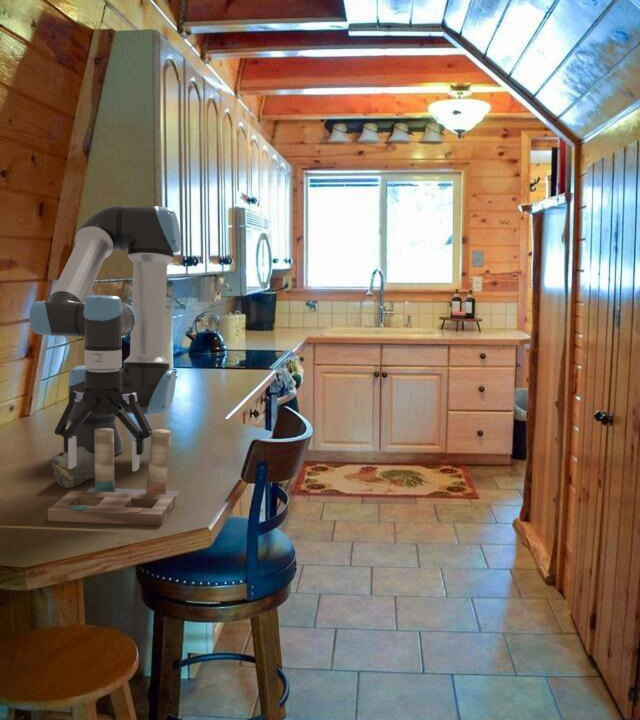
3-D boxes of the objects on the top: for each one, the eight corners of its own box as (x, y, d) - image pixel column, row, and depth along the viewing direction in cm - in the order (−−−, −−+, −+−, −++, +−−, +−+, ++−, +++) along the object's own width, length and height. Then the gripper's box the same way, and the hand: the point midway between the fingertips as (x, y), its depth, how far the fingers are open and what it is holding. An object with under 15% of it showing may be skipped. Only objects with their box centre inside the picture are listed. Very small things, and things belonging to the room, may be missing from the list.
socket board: (70, 502, 154) (70, 489, 154) (175, 506, 154) (175, 493, 153) (47, 522, 143) (47, 508, 142) (161, 526, 142) (161, 513, 142)
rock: (92, 472, 161) (47, 459, 160) (85, 500, 162) (40, 488, 161) (112, 449, 178) (71, 438, 177) (105, 475, 179) (64, 464, 178)
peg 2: (148, 491, 161) (154, 428, 159) (167, 493, 161) (173, 430, 159) (143, 497, 157) (149, 432, 155) (162, 499, 157) (168, 435, 155)
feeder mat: (90, 489, 163) (90, 487, 163) (180, 492, 163) (180, 491, 163) (77, 501, 155) (77, 499, 155) (172, 504, 155) (172, 502, 155)
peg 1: (98, 490, 161) (97, 427, 159) (117, 491, 161) (116, 428, 159) (92, 496, 157) (91, 432, 155) (111, 497, 157) (110, 432, 155)
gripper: (37, 370, 152) (39, 470, 155) (157, 373, 151) (157, 475, 154) (51, 365, 160) (53, 461, 162) (166, 369, 159) (166, 465, 161)
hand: (104, 468), depth 158 cm, fingers open, 13 cm apart
